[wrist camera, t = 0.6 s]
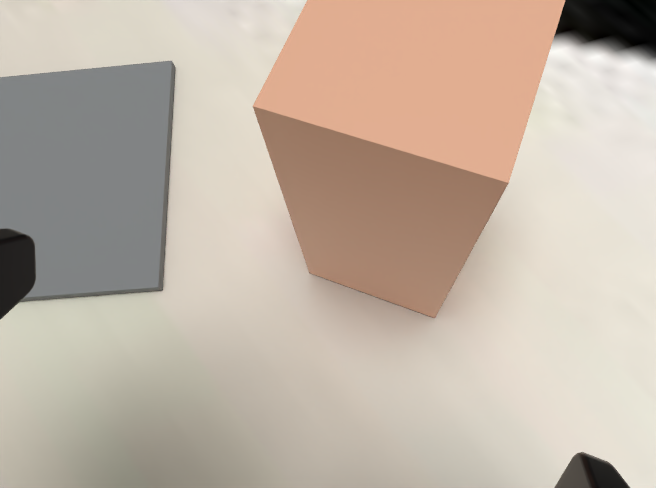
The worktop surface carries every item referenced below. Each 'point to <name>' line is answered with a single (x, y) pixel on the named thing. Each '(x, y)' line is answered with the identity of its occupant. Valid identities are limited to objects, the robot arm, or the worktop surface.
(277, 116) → the salmon pink pillar
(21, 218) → the rubber mat
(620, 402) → the worktop surface
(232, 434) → the worktop surface
